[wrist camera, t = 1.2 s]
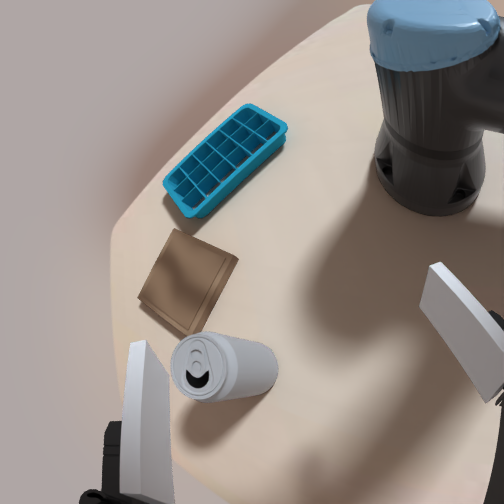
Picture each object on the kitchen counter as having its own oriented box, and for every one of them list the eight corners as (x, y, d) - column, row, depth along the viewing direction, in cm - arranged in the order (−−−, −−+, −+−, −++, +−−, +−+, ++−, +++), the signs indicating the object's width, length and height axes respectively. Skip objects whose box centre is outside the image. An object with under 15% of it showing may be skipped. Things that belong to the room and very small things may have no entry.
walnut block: (179, 231, 46) (173, 227, 44) (238, 258, 39) (233, 254, 38) (144, 300, 44) (136, 297, 43) (196, 339, 38) (189, 338, 36)
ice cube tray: (297, 138, 43) (291, 126, 40) (199, 229, 45) (188, 221, 42) (254, 112, 49) (247, 101, 47) (170, 190, 51) (160, 181, 48)
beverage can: (231, 394, 33) (166, 400, 23) (230, 343, 36) (166, 330, 26) (281, 394, 31) (230, 406, 21) (279, 339, 33) (229, 327, 23)
